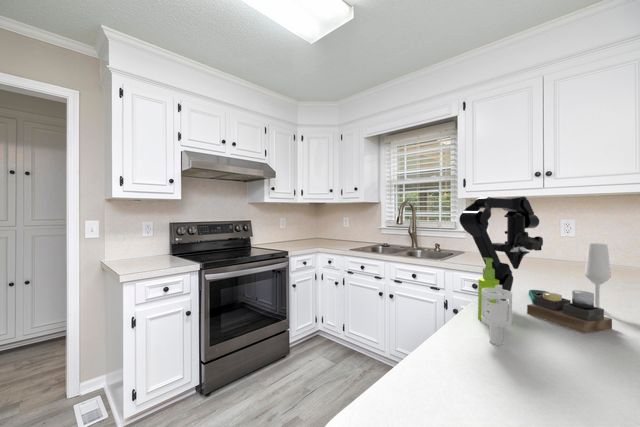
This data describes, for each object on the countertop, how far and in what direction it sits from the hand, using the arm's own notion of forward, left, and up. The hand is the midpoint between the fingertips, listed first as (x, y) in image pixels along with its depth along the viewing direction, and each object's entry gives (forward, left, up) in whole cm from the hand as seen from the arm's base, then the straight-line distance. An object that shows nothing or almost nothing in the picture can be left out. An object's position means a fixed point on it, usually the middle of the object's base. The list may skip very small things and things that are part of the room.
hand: (515, 268), depth 113 cm
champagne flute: (+17, -17, -13) cm, 27 cm away
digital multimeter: (+12, -2, -14) cm, 18 cm away
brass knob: (-2, -15, -10) cm, 18 cm away
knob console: (-2, -20, -13) cm, 24 cm away
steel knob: (-2, -24, -7) cm, 25 cm away
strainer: (-38, -26, -13) cm, 48 cm away
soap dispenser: (-26, -12, -13) cm, 31 cm away
